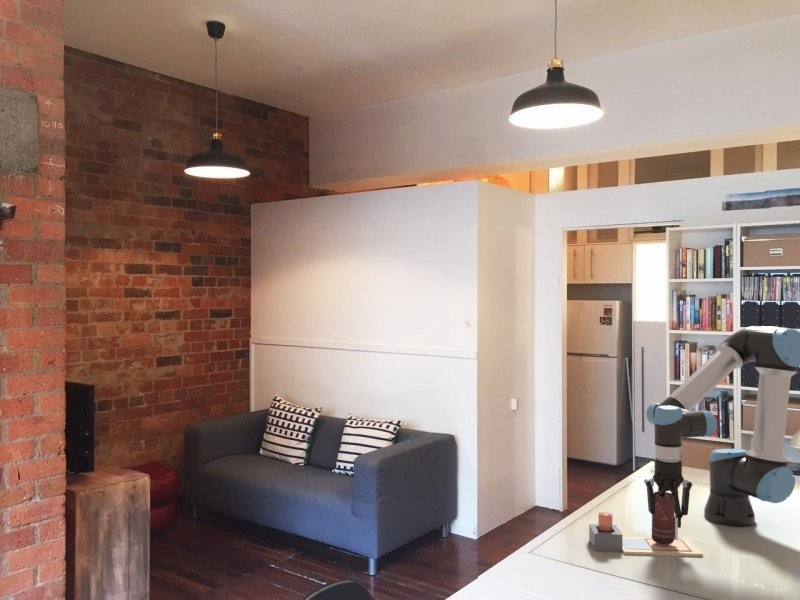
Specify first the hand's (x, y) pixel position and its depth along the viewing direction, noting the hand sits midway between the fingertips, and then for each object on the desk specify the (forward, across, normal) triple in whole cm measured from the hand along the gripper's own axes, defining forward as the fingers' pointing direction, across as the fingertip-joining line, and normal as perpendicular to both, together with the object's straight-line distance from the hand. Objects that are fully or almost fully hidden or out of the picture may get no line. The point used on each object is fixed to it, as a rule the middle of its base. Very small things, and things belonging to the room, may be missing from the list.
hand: (668, 537), depth 197 cm
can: (+1, +1, 0) cm, 2 cm away
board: (+3, +3, 0) cm, 4 cm away
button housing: (+3, +18, 0) cm, 18 cm away
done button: (-2, +18, 0) cm, 18 cm away
